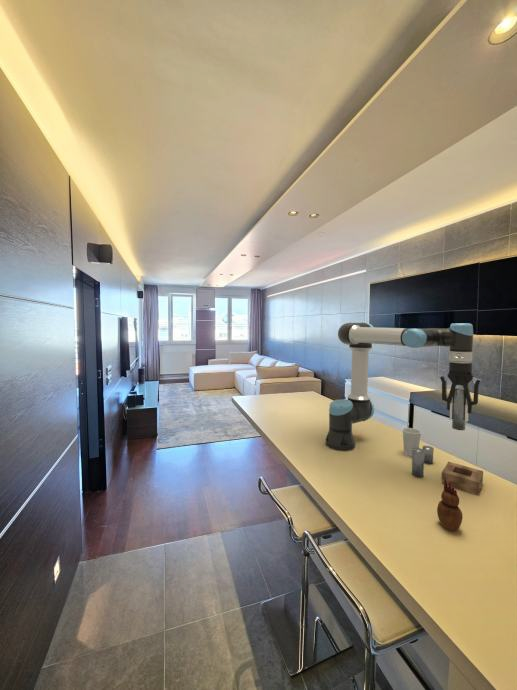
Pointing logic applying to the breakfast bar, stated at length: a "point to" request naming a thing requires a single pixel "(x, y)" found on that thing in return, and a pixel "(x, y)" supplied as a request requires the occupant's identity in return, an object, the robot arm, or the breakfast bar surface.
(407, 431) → the cup
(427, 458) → the short pin
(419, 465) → the medium pin
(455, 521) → the wooden figurine
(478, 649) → the breakfast bar surface
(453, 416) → the long pin
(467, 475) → the hole block
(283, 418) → the breakfast bar surface
